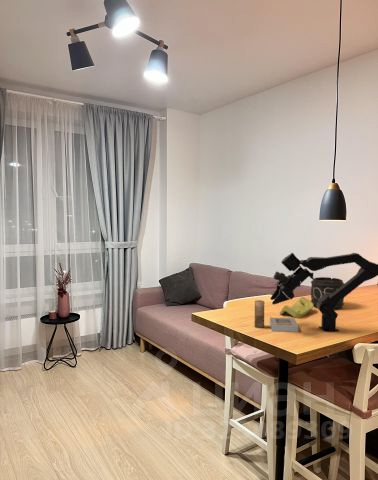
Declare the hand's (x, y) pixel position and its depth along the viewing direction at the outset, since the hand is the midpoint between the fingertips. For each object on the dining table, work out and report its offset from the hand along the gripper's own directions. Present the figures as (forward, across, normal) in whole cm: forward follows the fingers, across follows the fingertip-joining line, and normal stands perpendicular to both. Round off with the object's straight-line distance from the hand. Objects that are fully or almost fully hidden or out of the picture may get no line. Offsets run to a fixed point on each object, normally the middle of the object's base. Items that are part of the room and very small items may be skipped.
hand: (271, 301), depth 168 cm
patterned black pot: (-16, -44, +33) cm, 57 cm away
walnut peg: (+12, 0, +5) cm, 13 cm away
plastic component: (-2, -26, +20) cm, 33 cm away
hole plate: (+5, 0, +12) cm, 13 cm away
